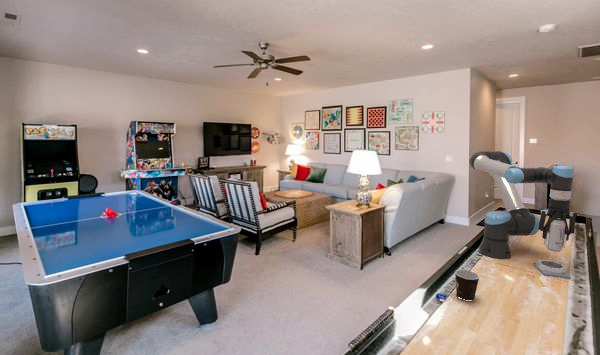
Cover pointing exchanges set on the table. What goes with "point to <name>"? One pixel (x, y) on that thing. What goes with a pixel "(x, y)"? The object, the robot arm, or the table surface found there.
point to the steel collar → (558, 270)
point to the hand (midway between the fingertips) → (554, 245)
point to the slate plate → (552, 273)
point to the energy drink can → (556, 235)
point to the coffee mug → (466, 284)
